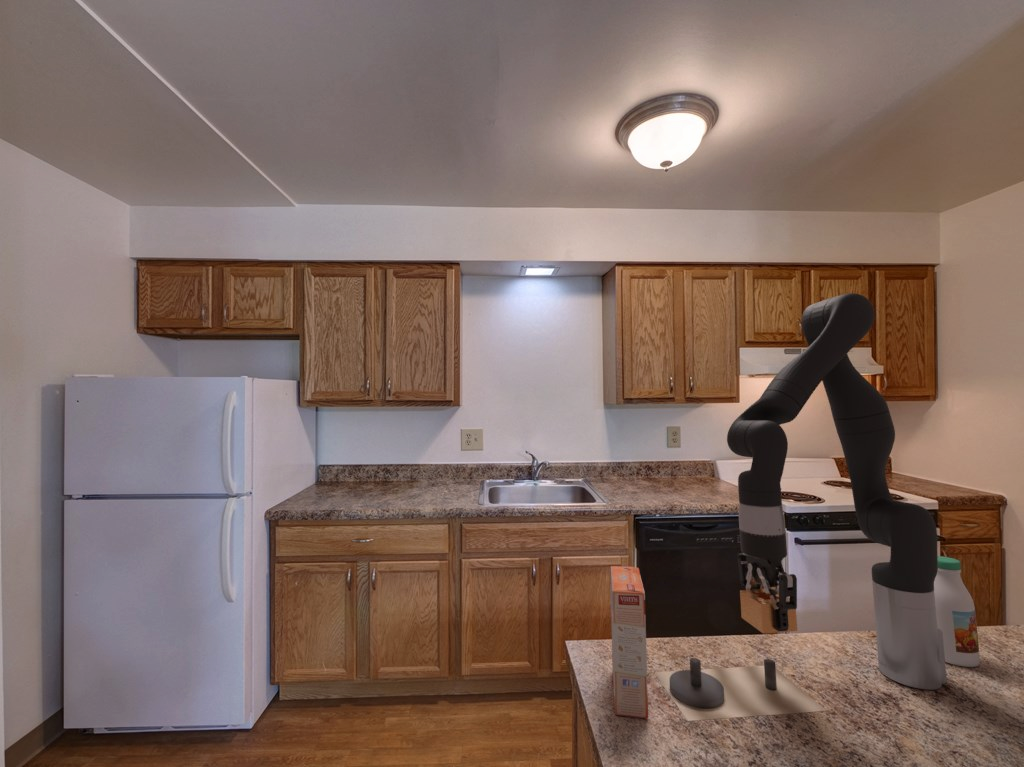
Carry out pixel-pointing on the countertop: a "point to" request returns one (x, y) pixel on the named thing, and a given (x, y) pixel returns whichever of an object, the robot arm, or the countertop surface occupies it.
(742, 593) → the hollow wooden cube
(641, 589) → the cracker box
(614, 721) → the countertop surface
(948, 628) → the milk bottle
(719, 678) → the board
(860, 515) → the robot arm
